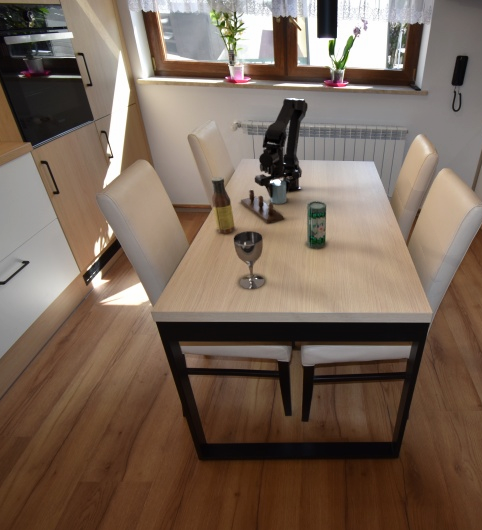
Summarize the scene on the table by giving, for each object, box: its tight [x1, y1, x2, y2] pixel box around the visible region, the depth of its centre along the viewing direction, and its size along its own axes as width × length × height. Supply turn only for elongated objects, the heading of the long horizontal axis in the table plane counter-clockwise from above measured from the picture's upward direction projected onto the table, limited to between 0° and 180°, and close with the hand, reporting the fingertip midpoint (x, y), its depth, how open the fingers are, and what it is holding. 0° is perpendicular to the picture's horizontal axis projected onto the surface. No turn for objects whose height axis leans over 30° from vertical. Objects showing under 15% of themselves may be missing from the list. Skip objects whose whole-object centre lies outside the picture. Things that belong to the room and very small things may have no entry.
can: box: [306, 200, 327, 250], centre depth 133 cm, size 6×6×15 cm
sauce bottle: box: [211, 176, 235, 234], centre depth 138 cm, size 7×6×20 cm
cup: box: [269, 179, 288, 205], centre depth 165 cm, size 7×7×8 cm
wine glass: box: [233, 230, 265, 290], centre depth 112 cm, size 8×8×15 cm
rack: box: [240, 188, 284, 224], centre depth 156 cm, size 7×23×6 cm, turn 37°
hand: (278, 196), depth 166 cm, fingers closed on cup, 7 cm apart
